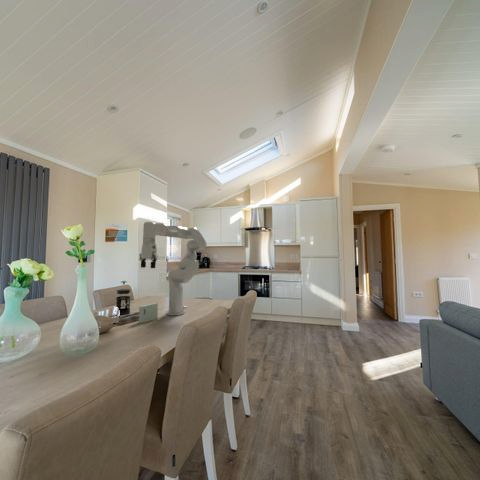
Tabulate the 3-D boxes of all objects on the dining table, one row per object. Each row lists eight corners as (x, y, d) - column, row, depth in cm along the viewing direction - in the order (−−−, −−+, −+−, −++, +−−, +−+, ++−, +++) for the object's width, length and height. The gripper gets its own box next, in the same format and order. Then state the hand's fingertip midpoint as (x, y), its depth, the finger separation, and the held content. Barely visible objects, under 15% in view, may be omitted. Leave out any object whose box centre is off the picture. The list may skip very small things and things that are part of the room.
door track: (138, 315, 168) (139, 311, 168) (149, 317, 162) (149, 313, 162) (110, 322, 151) (110, 317, 151) (120, 325, 145) (120, 320, 145)
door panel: (154, 318, 162) (155, 302, 162) (157, 318, 160) (158, 303, 161) (138, 322, 152) (139, 306, 152) (141, 323, 150) (142, 306, 151)
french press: (120, 312, 176) (121, 280, 177) (133, 312, 175) (134, 280, 176) (110, 316, 164) (112, 282, 165) (124, 316, 164) (125, 282, 165)
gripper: (162, 241, 155) (161, 268, 154) (145, 241, 164) (144, 267, 163) (153, 240, 149) (151, 268, 148) (135, 241, 158) (134, 267, 157)
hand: (148, 267), depth 156 cm, fingers open, 9 cm apart
